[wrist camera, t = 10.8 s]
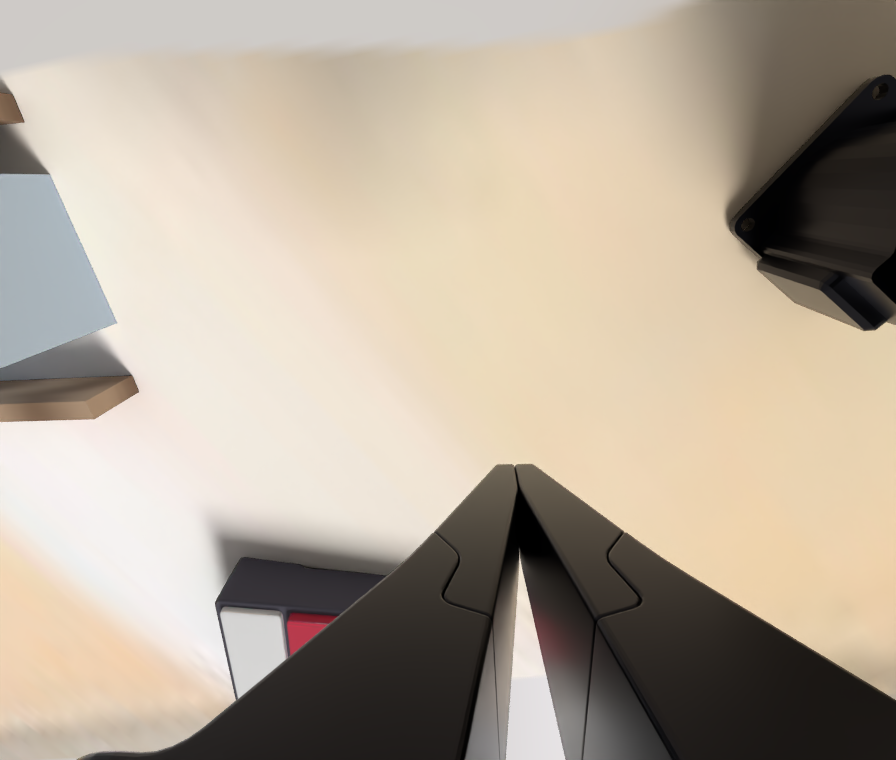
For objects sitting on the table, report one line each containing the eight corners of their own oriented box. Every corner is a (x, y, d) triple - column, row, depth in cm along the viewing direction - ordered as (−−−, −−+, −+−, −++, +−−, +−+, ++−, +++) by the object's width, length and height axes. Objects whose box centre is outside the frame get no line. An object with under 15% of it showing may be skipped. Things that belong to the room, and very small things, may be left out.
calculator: (444, 734, 30) (230, 716, 30) (446, 670, 34) (256, 654, 34) (459, 632, 25) (205, 611, 25) (459, 572, 29) (239, 553, 29)
